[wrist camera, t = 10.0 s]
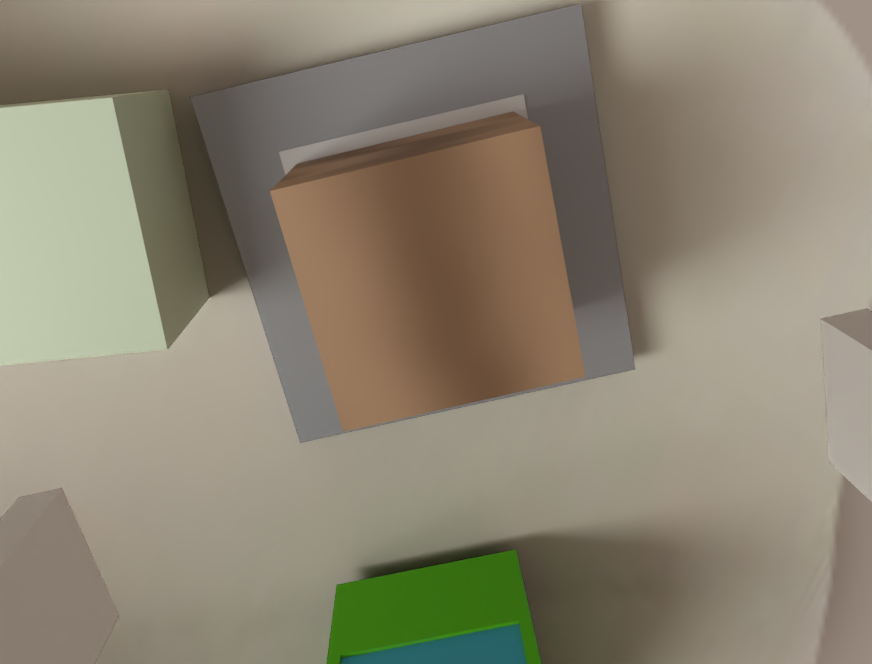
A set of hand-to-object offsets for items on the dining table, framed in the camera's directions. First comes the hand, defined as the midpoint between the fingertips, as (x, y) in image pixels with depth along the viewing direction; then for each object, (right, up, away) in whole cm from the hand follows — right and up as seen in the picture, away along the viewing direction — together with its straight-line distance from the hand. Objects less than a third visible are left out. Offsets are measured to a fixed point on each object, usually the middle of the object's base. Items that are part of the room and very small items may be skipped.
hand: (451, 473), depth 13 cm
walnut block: (-1, +6, +16) cm, 17 cm away
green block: (-14, +7, +17) cm, 23 cm away
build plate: (-1, +6, +17) cm, 18 cm away
